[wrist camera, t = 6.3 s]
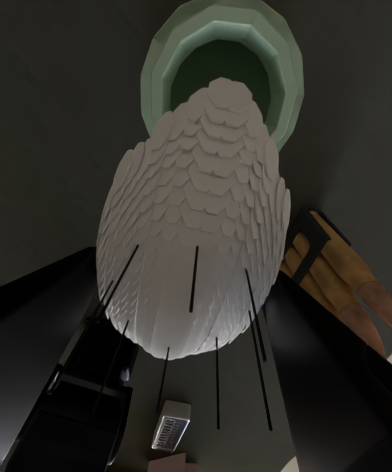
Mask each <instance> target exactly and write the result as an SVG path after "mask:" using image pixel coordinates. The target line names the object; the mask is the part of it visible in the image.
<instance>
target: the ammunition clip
mask: <svg viewBox="0 0 392 472" xmlns="http://www.w3.org/2000/svg"><path fill="white" fill-rule="evenodd" d="M350 246H351V243H350V242H349V241H348V240H347V239H346V237H345V236H344V235H343V234H342V233H341V232H340V231H339V230H338V229H337V227H336V226H335V225H334V224H333V223H332V222H331V221H330V220H329V219H328V218H327V216H326V215H325V214H324V213H323V212H321V211H318V210H314V209H310V208H306V207H304V208H302V209H301V211H300V213H299V214H298V216H297V218H296V220H295V222H294V224H293V226H292V228H291V230H290V232H289V233H288V235H287V237H286V239H285V248H284V255H283V260H282V261H281V264H280V268H279V270H281V271H283V272H284V273H286V274H287V275H288V276H289V277H290V278H291V279H293V280H294V281H295V282H296V283H297V284H298V285H300V286H301V287H302V288H303V289H304V290H305V291H307V292H308V293H309V294H310V295H311V296H312V297H314V298H315V299H316V300H317V301H318V302H319V303H321V304H322V305H323V306H324V307H325V308H326V309H328V310H329V311H330V312H331V313H332V314H333V315H335V316H336V317H337V318H338V319H339V320H340V321H342V319H341V317H340V316H339V314H340V315H341V316H342V317H343V319H344V321H345V322H346V324H347V325H348V326H349V328H350V329H351V330H352V331H353V332H354V333H355V334H357V335H358V336H359V337H360V338H361V339H362V340H364V341H365V342H366V343H367V345H370V346H371V347H372V348H373V349H374V350H375V351H377V352H378V353H379V354H380V355H381V356H382V357H384V358H385V351H384V347H383V343H382V341H381V338H380V336H379V334H378V332H377V330H376V328H375V326H374V324H373V323H372V321H371V319H370V318H369V316H368V315H367V314H366V312H365V311H364V309H363V308H362V306H361V304H360V303H359V301H358V300H357V298H356V297H355V295H354V292H353V290H354V291H355V292H356V293H357V294H358V295H359V296H360V297H361V298H362V299H363V301H364V302H365V303H366V304H367V305H368V306H369V307H370V309H371V310H372V311H373V312H374V313H375V314H376V315H377V316H378V317H380V318H381V319H382V320H383V321H384V322H385V323H387V324H388V325H389V326H391V327H392V296H391V295H390V294H389V293H388V292H387V291H386V290H385V288H384V287H383V286H382V285H381V283H380V282H379V281H378V280H377V279H376V278H375V276H374V275H373V273H372V272H371V270H370V268H369V267H368V265H367V264H366V263H365V262H364V261H363V260H362V259H361V258H360V257H359V256H358V255H357V254H356V253H355V251H354V250H353V249H352V248H351V247H350ZM351 287H352V288H353V290H352V288H351ZM262 310H263V313H264V317H265V320H266V324H267V319H266V310H265V301H264V304H263V305H262ZM338 312H339V313H338ZM342 322H343V321H342Z"/></svg>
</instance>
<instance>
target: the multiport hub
mask: <svg viewBox="0 0 392 472" xmlns="http://www.w3.org/2000/svg"><path fill="white" fill-rule="evenodd" d="M190 407H191V405H190V404H187V403H181V402H176V401H171V400H166V401H165V403H164V406H163V409H162V412H161V415H160V417H159V420H158V423H157V426H156V429H155V432H154V436H153V442H152V448H153V449H158V450H164V451H170V452H173V451H174V450H175V448H176V446H177V444H178V442H179V440H180V439H181V437H182V435H183V433H184V431H185V429H186V427H187V425H188V423H189V421H190Z"/></svg>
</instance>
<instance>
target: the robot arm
mask: <svg viewBox="0 0 392 472" xmlns="http://www.w3.org/2000/svg"><path fill="white" fill-rule="evenodd" d="M96 249H97V248H96V247H88V248H85V249H83V250H81V251H79V252H76V253H74V254H72V255H70V256H68V257H65V258H63V259H61V260H59V261H56V262H54V263H52V264H50V265H48V266H45V267H43V268H41V269H39V270H36V271H34V272H32V273H30V274H28V275H25V276H23V277H21V278H19V279H16V280H14V281H12V282H10V283H8V284H5V285H3V286H1V287H0V466H1V465H2V463H3V461H2V460H4V459H5V457H6V455H7V453H8V452H9V450H10V448H11V446H12V444H13V443H14V441H17V442H19V443H18V445H17V447H16V449H15V450H14V452H13V454H12V456H11V458H10V459H9V461H8V463H7V466H6V469H5V472H105V471H106V468H107V465H108V464H109V465H111V464H112V462H113V461H114V459H115V457H116V455H117V452H118V450H119V447H120V444H121V442H122V438H123V435H124V431H125V427H126V422H127V417H128V412H129V406H130V401H131V396H132V390H133V388H131V387H125V386H123V384H124V380H125V381H128V380H129V379H130V376H131V373H132V370H133V366H134V363H135V360H136V356H137V353H138V343H134V342H133V341H132V340H131V339H130V338H128V337H126V336H125V334H124V336H123V339H122V341H121V344H120V347H119V349H118V352H117V355H116V357H115V360H114V362H113V365H112V368H111V370H110V373H109V376H108V378H107V381H106V383H105V386H104V389H103V391H102V394H101V396H100V399H99V402H98V404H97V407H96V410H95V412H94V413H92V410H93V407H94V405H95V402H96V400H97V397H98V395H99V392H100V389H101V387H102V384H103V382H104V379H105V377H106V374H107V372H108V369H109V366H110V364H111V361H112V359H113V356H114V354H115V351H116V349H117V346H118V343H119V341H120V338H121V336H122V334H121V333H120V331H119V330H118V329H117V330H116V328H115V327H114V325H113V324H112V321H110V320H102V319H101V320H100V322H99V323H98V324H97V323H96V320H97V319H93V320H92V322H91V324H90V325H89V327H88V329H87V331H86V333H85V334H84V336H83V338H82V340H81V342H80V344H79V345H78V347H77V349H76V351H75V353H74V354H73V356H72V358H71V360H70V362H69V363H68V365H67V367H66V369H65V371H64V372H63V374H62V376H61V378H60V380H59V381H58V383H57V385H56V387H55V389H54V390H53V392H52V394H51V395H50V394H48V393H49V391H50V389H51V387H52V386H53V384H54V382H55V380H56V379H57V377H58V375H59V373H60V371H61V370H62V368H63V366H62V365H61V364H58V361H59V359H60V358H61V356H62V354H63V352H64V350H65V349H66V347H67V345H68V343H69V341H70V340H71V338H72V336H73V334H74V332H75V330H76V329H77V327H78V325H79V323H80V321H81V320H82V318H83V316H84V314H85V312H86V310H87V308H88V306H89V304H90V302H91V300H92V297H93V295H94V292H95V290H96V287H97V285H98V283H97V268H96ZM265 310H266V319H267V328H268V333H269V338H270V343H271V347H272V351H273V356H274V360H275V365H276V369H277V374H278V378H279V382H280V387H281V391H282V396H283V400H284V405H285V409H286V414H287V418H288V422H289V427H290V431H291V436H292V440H293V445H294V449H295V454H296V458H297V462H298V467H299V471H300V472H392V364H391V363H390V362H388V361H387V360H386V359H385V358H384V357H382V356H381V355H380V354H379V353H378V352H377V351H375V350H374V349H373V348H372V347H371V346H370V345H367V343H366V342H365V341H364V340H362V339H361V338H360V337H359V336H358V335H357V334H355V333H354V332H353V331H352V330H351V329H350V328H348V327H347V326H346V325H345V324H344V323H343V322H342V321H340V320H339V319H338V318H337V317H336V316H335V315H333V314H332V313H331V312H330V311H329V310H328V309H326V308H325V307H324V306H323V305H322V304H321V303H319V302H318V301H317V300H316V299H315V298H314V297H312V296H311V295H310V294H309V293H308V292H307V291H305V290H304V289H303V288H302V287H301V286H300V285H298V284H297V283H296V282H295V281H294V280H293V279H291V278H290V277H289V276H288V275H287V274H286V273H284V272H283V271H281V270H279V271H278V275H277V278H276V281H275V283H274V285H272V286H271V289H270V292H269V295H268V297H267V296H266V300H265ZM90 319H91V318H85V320H84V321H83V324H84V328H85V327H86V326H87V324H88V322H89V320H90Z"/></svg>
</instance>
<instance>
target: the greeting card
mask: <svg viewBox="0 0 392 472" xmlns="http://www.w3.org/2000/svg"><path fill="white" fill-rule="evenodd" d="M185 458H186V452H185V453H181V454H177V455H173V456H169V457H165V458H161V459H157V460H153V461H149V465H148V470H147V472H197V464H190V463H185Z"/></svg>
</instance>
